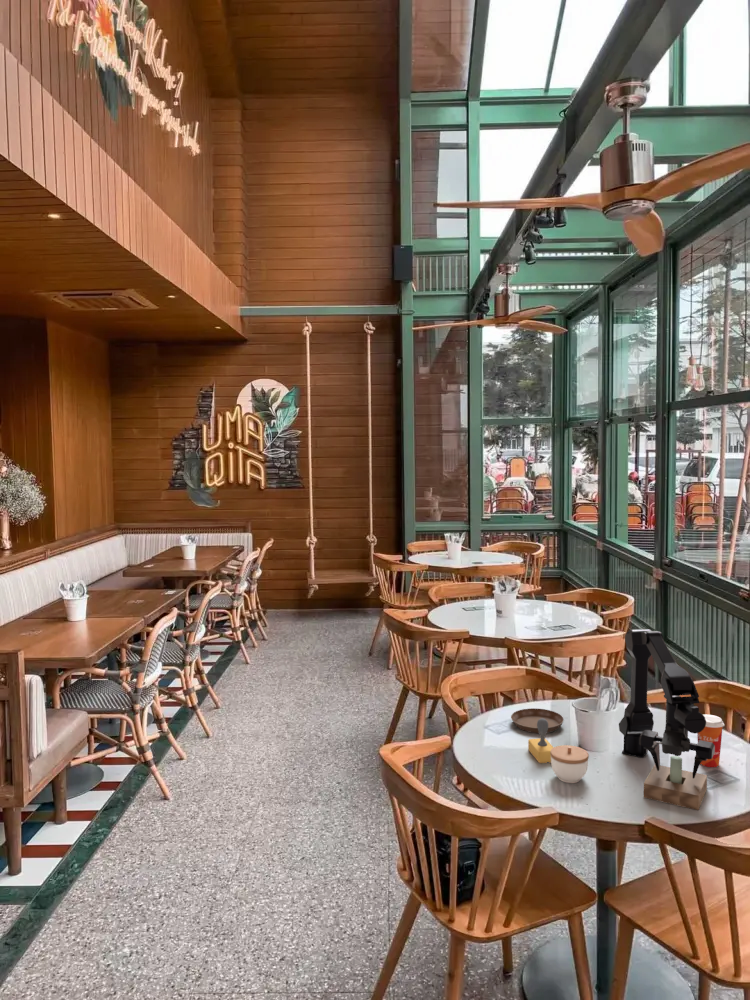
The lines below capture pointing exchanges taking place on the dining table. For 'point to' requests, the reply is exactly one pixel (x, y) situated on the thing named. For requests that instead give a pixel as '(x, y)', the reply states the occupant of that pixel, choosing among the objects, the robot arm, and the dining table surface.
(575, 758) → the lidded jar
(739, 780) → the dining table surface
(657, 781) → the hole block
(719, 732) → the paper cup
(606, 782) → the dining table surface
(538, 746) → the rubber stamp
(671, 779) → the peg
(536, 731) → the plant saucer
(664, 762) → the dining table surface
